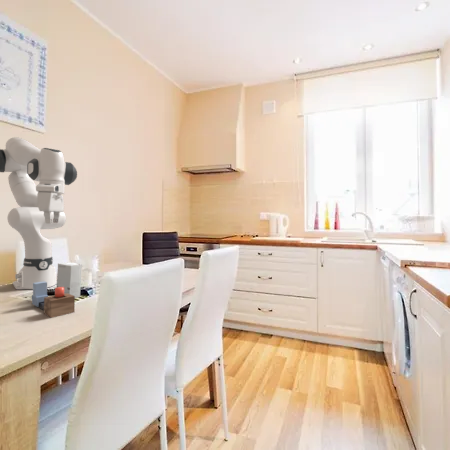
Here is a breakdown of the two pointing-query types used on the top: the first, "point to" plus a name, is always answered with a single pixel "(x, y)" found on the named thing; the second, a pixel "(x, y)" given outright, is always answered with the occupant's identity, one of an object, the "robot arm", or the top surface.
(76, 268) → the skincare box
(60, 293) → the button
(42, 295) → the light blue stepped block
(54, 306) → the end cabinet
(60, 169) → the robot arm
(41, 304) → the rail
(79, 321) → the top surface
